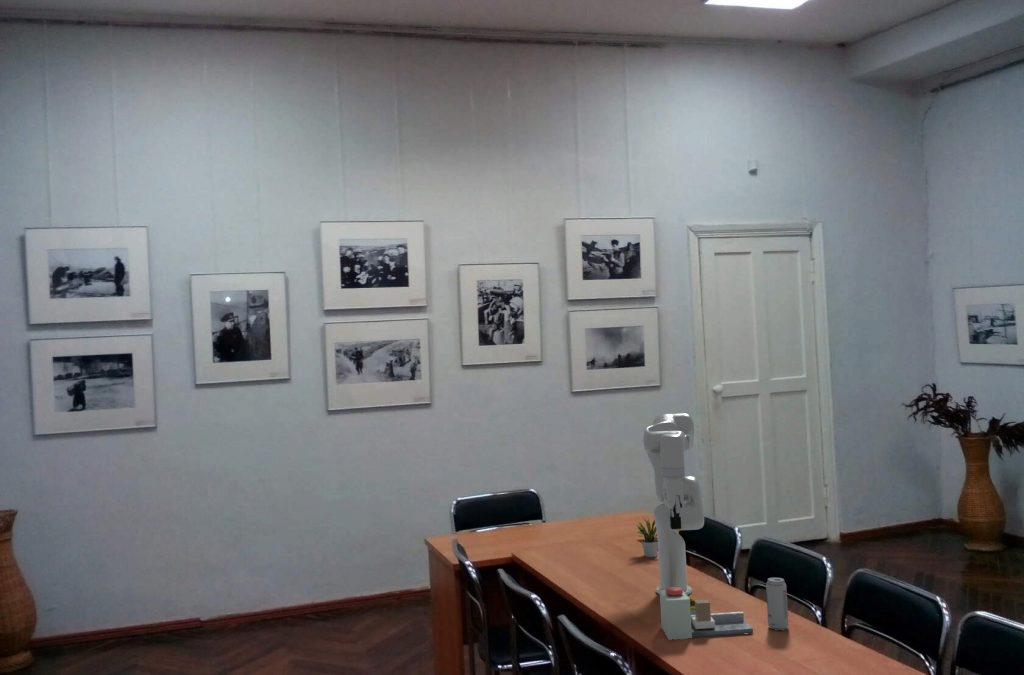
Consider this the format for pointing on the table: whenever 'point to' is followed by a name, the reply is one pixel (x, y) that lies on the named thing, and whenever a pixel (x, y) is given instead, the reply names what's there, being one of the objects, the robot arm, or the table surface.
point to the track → (724, 625)
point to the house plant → (649, 539)
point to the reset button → (674, 591)
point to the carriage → (702, 615)
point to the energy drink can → (777, 603)
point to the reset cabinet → (675, 616)
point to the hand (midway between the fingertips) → (675, 528)
